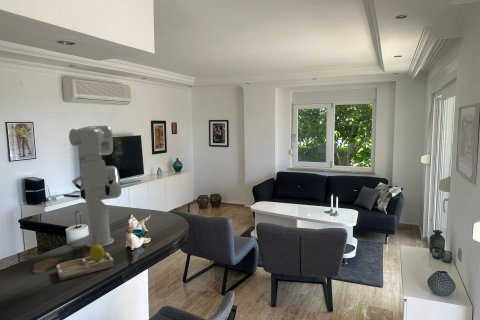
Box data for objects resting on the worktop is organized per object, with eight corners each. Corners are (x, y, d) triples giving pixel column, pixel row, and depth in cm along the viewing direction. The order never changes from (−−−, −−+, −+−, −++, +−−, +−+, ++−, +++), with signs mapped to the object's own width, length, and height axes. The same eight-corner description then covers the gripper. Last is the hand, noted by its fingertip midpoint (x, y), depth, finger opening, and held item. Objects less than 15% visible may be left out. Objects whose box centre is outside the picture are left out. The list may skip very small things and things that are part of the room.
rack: (57, 271, 138) (56, 264, 138) (107, 258, 150) (107, 252, 149) (60, 280, 130) (59, 273, 130) (114, 266, 141) (113, 259, 141)
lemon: (92, 266, 139) (90, 247, 138) (89, 262, 143) (87, 243, 142) (106, 262, 142) (104, 244, 141) (103, 258, 146) (101, 240, 145)
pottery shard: (48, 276, 138) (64, 258, 153) (47, 270, 137) (63, 253, 152) (27, 278, 137) (44, 260, 152) (26, 272, 137) (43, 255, 151)
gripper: (71, 160, 137) (75, 202, 140) (115, 156, 147) (118, 195, 149) (68, 159, 144) (72, 198, 146) (110, 155, 153) (114, 192, 156)
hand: (95, 196), depth 148 cm, fingers open, 9 cm apart
